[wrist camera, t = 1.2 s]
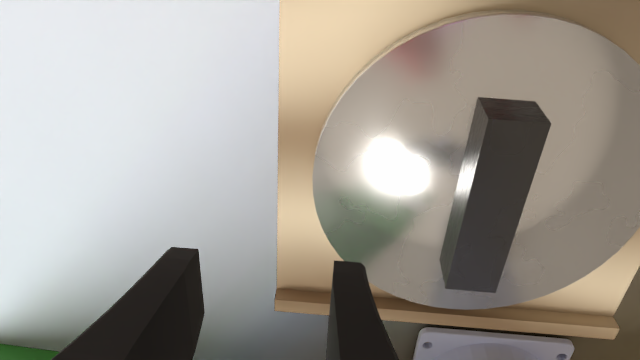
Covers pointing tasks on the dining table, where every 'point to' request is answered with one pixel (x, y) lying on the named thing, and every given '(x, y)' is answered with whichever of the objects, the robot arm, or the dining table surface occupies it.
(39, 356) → the hardback book
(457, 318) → the lid rest
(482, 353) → the robot arm
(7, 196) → the dining table surface
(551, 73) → the lid
